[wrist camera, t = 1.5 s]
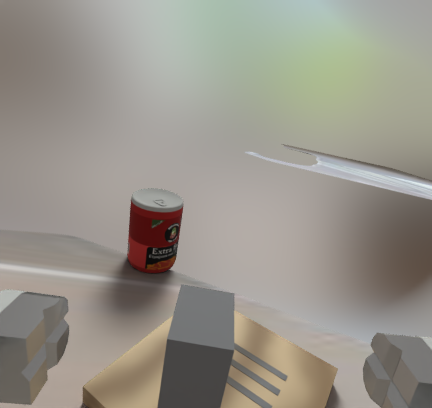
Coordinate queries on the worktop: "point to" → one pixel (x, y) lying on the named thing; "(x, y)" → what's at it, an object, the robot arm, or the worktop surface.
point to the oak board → (237, 378)
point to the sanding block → (198, 349)
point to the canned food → (154, 229)
